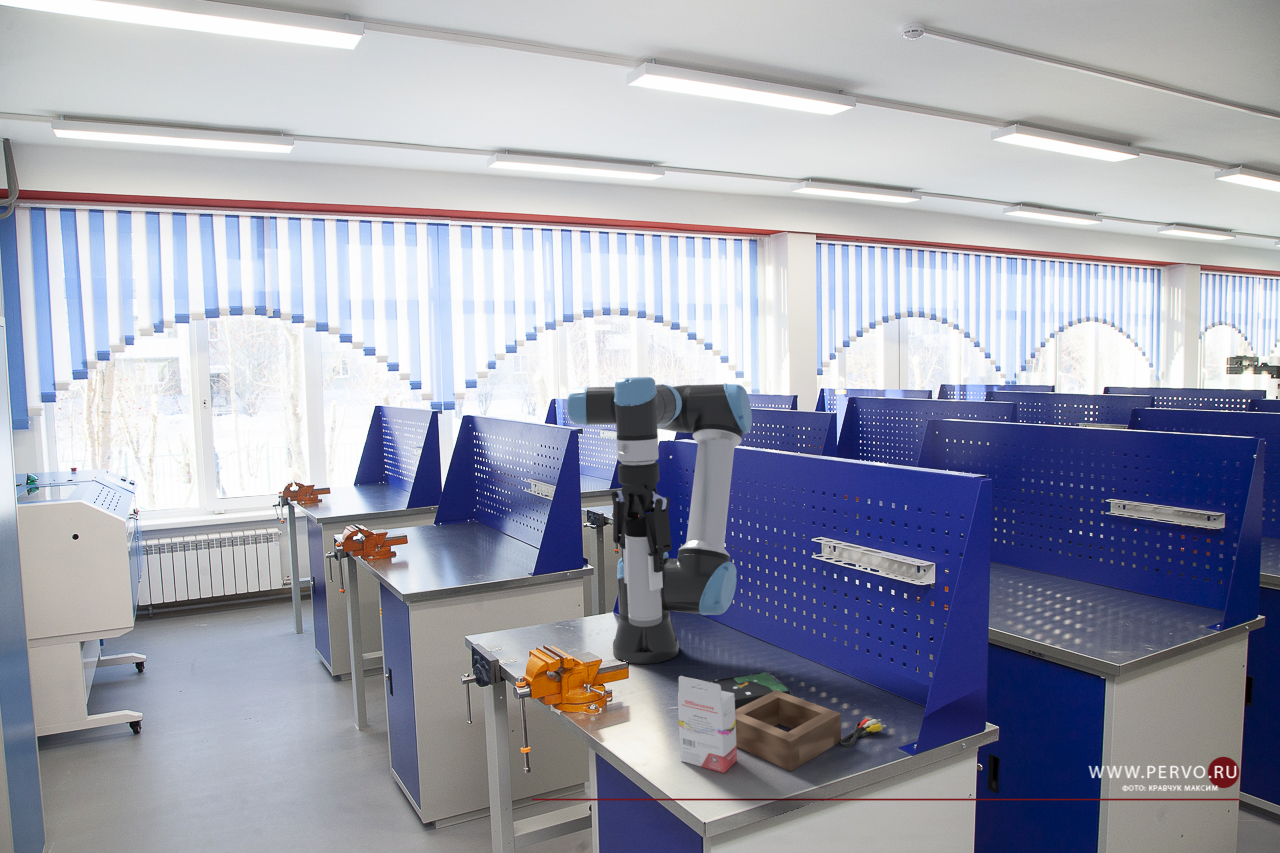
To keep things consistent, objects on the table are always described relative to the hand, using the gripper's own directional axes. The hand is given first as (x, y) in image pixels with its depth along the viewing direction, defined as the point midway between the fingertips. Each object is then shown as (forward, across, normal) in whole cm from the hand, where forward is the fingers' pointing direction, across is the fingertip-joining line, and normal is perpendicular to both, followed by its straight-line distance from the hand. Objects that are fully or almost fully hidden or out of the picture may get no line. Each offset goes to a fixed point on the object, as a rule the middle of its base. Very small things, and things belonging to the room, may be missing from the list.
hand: (643, 584), depth 146 cm
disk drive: (+26, +7, +19) cm, 33 cm away
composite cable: (+26, +32, +20) cm, 46 cm away
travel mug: (+7, 0, 0) cm, 7 cm away
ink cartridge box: (+26, +19, -4) cm, 32 cm away
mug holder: (+25, +24, +10) cm, 36 cm away
